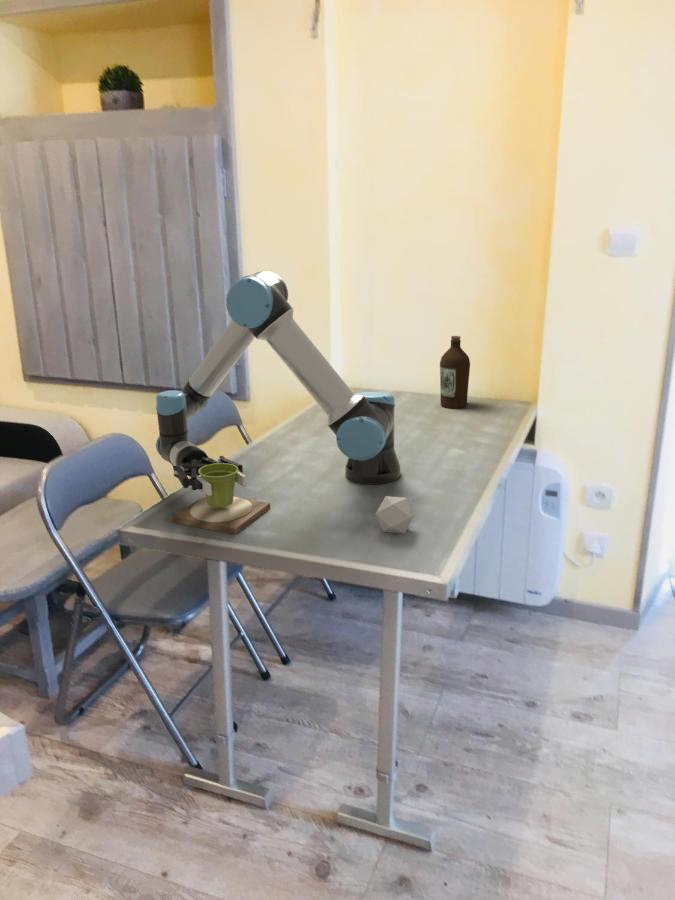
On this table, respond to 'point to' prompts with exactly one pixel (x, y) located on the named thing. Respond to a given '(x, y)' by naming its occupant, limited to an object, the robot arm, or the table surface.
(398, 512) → the die
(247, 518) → the walnut board
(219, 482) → the plant pot
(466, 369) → the olive oil
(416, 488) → the table surface
